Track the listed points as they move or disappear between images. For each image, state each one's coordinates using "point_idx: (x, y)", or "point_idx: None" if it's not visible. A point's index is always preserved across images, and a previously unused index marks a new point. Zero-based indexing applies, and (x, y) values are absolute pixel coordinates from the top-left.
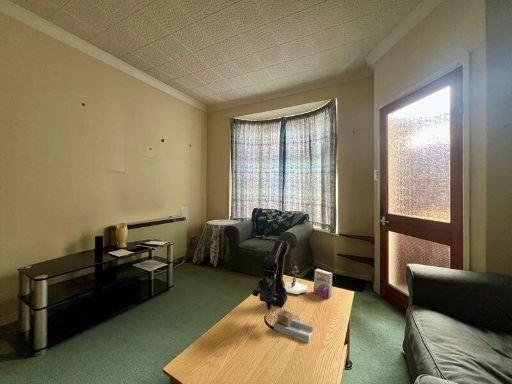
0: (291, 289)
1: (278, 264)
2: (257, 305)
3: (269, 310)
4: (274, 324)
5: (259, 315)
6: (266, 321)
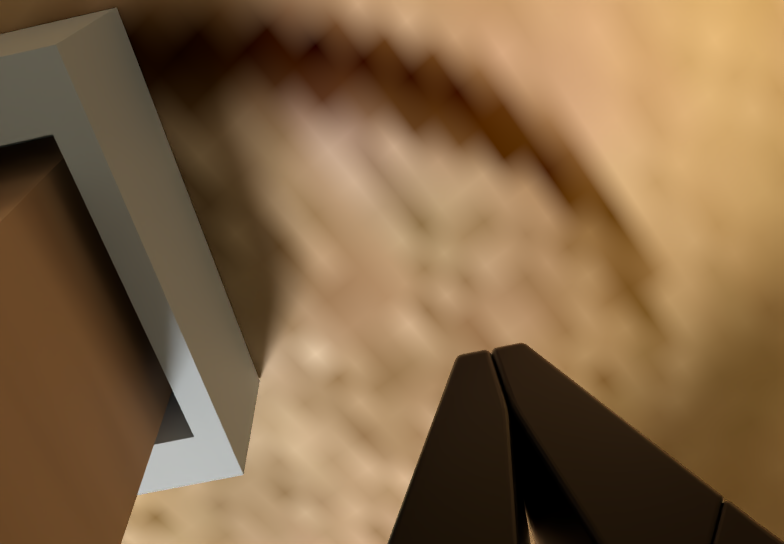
0: None
1: None
2: None
3: (456, 363)
4: (51, 46)
5: (776, 212)
6: (495, 147)
